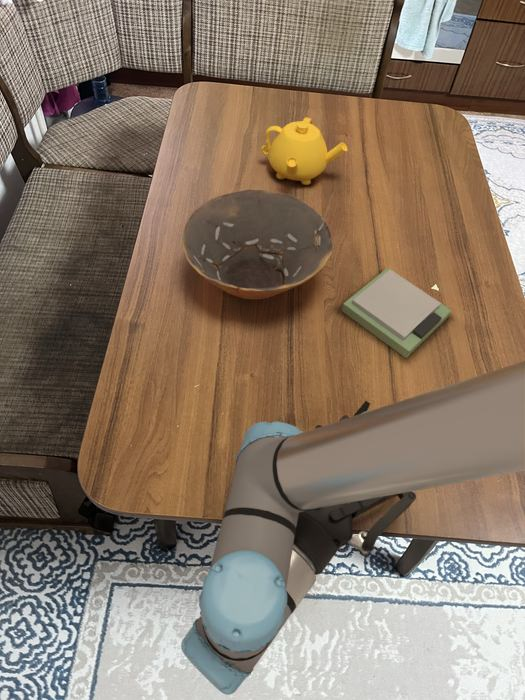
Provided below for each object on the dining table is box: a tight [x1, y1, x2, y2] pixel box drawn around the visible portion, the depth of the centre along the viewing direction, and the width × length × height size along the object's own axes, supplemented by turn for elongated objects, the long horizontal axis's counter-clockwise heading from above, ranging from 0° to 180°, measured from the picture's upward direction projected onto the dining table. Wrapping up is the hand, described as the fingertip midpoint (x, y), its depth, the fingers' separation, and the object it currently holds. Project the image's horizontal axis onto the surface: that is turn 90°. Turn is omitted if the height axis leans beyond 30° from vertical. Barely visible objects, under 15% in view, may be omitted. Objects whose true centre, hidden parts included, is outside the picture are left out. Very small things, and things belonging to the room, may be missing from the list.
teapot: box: [261, 116, 348, 186], centre depth 112 cm, size 14×14×11 cm
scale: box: [341, 267, 452, 359], centre depth 92 cm, size 14×13×3 cm
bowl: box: [181, 189, 333, 300], centre depth 93 cm, size 25×25×10 cm
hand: (392, 425), depth 73 cm, fingers closed on cup, 8 cm apart
